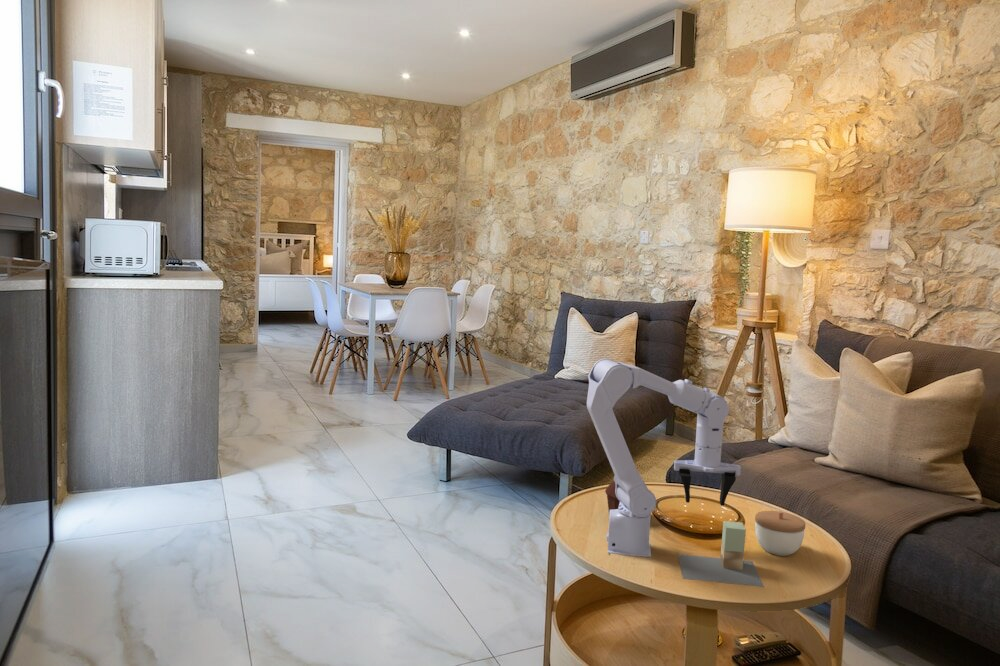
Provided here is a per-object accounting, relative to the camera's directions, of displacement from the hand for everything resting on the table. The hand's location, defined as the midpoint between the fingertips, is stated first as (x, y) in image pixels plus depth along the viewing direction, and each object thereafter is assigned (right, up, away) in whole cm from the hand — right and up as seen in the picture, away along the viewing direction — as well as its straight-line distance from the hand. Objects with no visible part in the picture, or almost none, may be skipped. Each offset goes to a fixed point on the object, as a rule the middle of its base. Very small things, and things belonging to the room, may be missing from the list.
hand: (704, 502), depth 160 cm
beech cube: (+3, -11, -9) cm, 15 cm away
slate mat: (0, -12, -12) cm, 17 cm away
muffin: (-15, -8, +18) cm, 24 cm away
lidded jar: (+17, -11, 0) cm, 20 cm away
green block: (+3, -7, -10) cm, 13 cm away
